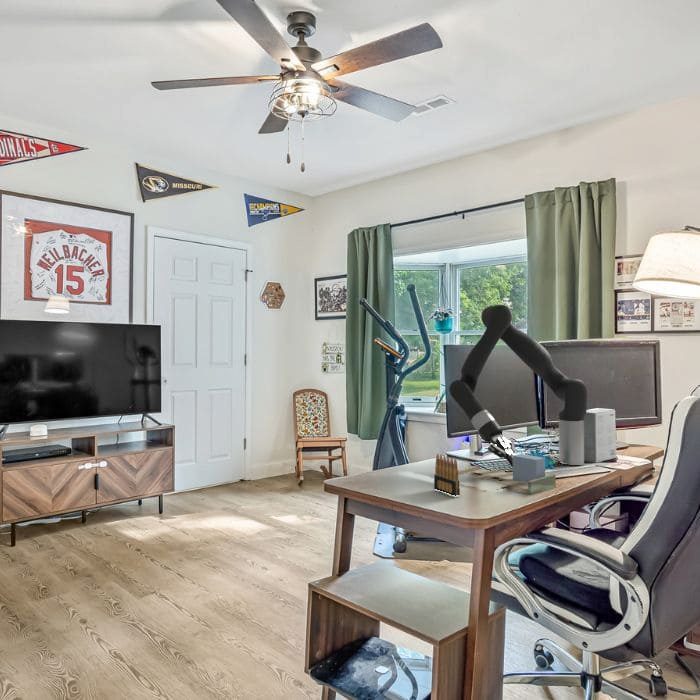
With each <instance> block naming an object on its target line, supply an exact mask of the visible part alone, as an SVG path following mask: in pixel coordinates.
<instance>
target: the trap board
mask: <svg viewBox="0 0 700 700" xmlns="http://www.w3.org/2000/svg"><path fill="white" fill-rule="evenodd" d="M479 467H480V466H475V465H472V466H468V467H463V468H459V469H458V475H461V476H465V475H467V474H473V473H476V474H481V475H478V476H474V478H475V479H479V480H487V479H491V478H499V479H503V480H500V481H496V483H498V484H502V485H505V486H501V487H500V489H503V490H504V489H505V490H509V491H513V492H518V493H522V494H527V495H531V496H532V495H535V494H538V493H542V492H545V491H548V490H551V489H554V488H557V486H556V475H555V474H553V473H552V474H549V475H545V477H541V478H538V479H534V480H531V481H528V483H527V482H522V481H517V480H513V473H510V472H505V471H502V470H497V469H496V470H495V469H491V471H490V470H485V469H481V468H482V467H481V468H479Z"/></svg>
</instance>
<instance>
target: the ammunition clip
mask: <svg viewBox="0 0 700 700" xmlns="http://www.w3.org/2000/svg"><path fill="white" fill-rule="evenodd" d="M434 468H435V470H434V471H435V473H434V476H433V477H434V479H433V490H434V489H437V490H440V491H443V492H446V493H449V494H451V495H455V496H456V495H460V496H461V493H460V492H461V491H460V490H461V489H460V480H459V474H458V470H459V469H458V461H457V458H455V459H453V457H451V458H450V457H449V456H447V457H446V456H445V455H444V456H442V454H440V456H439V453H436V456H435V467H434Z"/></svg>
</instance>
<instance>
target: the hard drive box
mask: <svg viewBox="0 0 700 700" xmlns="http://www.w3.org/2000/svg"><path fill="white" fill-rule="evenodd" d="M616 428H617V427H616V410H615V409H612V408H603V407H602V408H601V407H597V408H591V409H586V414H585V416H584V462H589V463H593V464H594V463H595V464H598V463H600V462H601V463H602V462H603V461H604V462H605V461H608V460H612V459H613V460H614V459H617V435H616V433H617V432H616V431H617V430H616Z"/></svg>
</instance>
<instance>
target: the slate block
mask: <svg viewBox="0 0 700 700" xmlns="http://www.w3.org/2000/svg"><path fill="white" fill-rule="evenodd" d="M513 455H514V454H513ZM531 455H532V454H531ZM531 455H528V454H524V453H519V454H515V455H514V456H513V467H512V474H513V480H517V481H522V482H527V483H528V481H531V480H534V479H538V478H541V477H545V476H546V468H545V458H543V457H537V456H533V455H532V456H531Z"/></svg>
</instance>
